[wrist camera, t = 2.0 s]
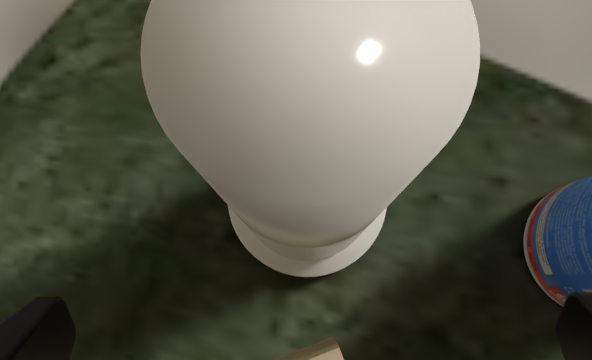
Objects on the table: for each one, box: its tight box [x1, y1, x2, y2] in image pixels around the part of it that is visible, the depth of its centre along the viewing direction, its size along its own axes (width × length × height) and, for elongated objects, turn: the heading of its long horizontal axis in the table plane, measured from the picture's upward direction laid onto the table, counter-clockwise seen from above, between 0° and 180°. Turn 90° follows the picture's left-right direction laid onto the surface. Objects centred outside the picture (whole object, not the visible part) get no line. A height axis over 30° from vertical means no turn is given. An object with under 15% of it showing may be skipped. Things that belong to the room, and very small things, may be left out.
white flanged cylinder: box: [141, 0, 480, 277], centre depth 13 cm, size 6×6×13 cm
